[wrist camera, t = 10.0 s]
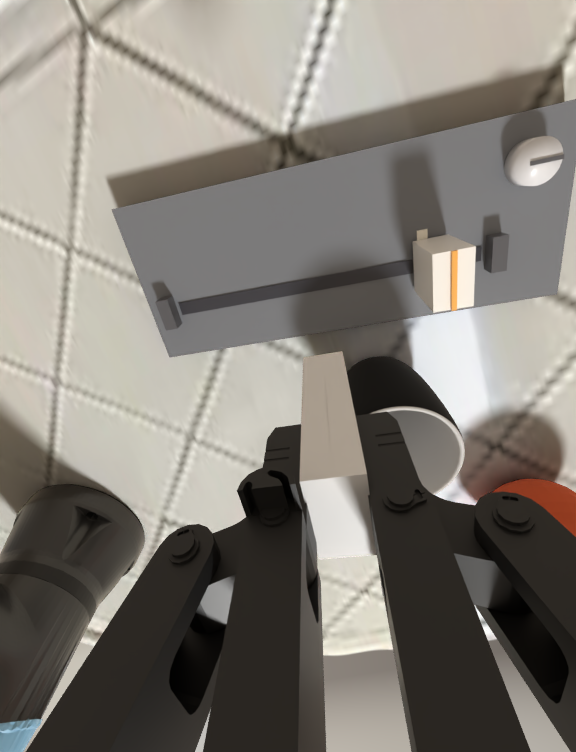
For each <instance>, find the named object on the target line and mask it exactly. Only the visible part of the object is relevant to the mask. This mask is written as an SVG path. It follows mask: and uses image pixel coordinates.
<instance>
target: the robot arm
mask: <svg viewBox="0 0 576 752" xmlns="http://www.w3.org/2000/svg"><path fill="white" fill-rule="evenodd" d="M237 492H238V495H239V497H240V500H241V503H242V506H243V508H244V511H245V514H246V518H244V519H243V520H242V521H240V522H239V523H237V524H235V525H233V526H231V527H228V528H226V529H223V530H220V531H218V532H215V533H213V534H212V532H211V531H210V530H209V529H208V528H207V527H205V526H202V525H200V524H196V525H187V526H185V527H182V528H180V529H177V530H176V531H175V532H173V533H172V534H170V535H169V536H168V537H167V538H166V539H165V540H164V541H163V543H162V544H161V545H160V546H159V548H158V549H157V551H156V552H155V554H154V555H153V557H152V558H151V560H150V562H149V563H148V565H147V566H146V568H145V569H144V571H143V572H142V574H141V575H140V577H139V578H138V580H137V582H136V583H135V585H134V586H133V588H132V589H131V591H130V592H129V594H128V595H127V597H126V598H125V600H124V602H123V603H122V605H121V606H120V608H119V609H118V611H117V612H116V614H115V615H114V617H113V618H112V620H111V622H110V623H109V625H108V626H107V628H106V629H105V631H104V632H103V634H102V635H101V637H100V638H99V640H98V642H97V643H96V645H95V646H94V648H93V649H92V651H91V652H90V654H89V655H88V657H87V658H86V660H85V662H84V663H83V665H82V666H81V668H80V669H79V671H78V672H77V674H76V675H75V677H74V679H73V680H72V682H71V683H70V685H69V686H68V688H67V689H66V691H65V693H64V694H63V695H62V697H61V698H60V700H59V702H58V703H57V705H56V706H55V708H54V709H53V711H52V712H51V714H50V715H49V717H48V718H47V720H46V722H45V723H44V725H43V726H42V728H41V729H40V731H39V732H38V734H37V735H36V737H35V738H34V740H33V742H32V743H31V745H30V746H29V748H28V749H27V751H26V752H195V750H196V747H197V744H198V742H199V739H200V736H201V733H202V731H203V728H204V725H205V722H206V720H207V717H208V714H209V712H210V709H211V712H210V717H209V722H208V728H207V733H206V739H205V744H204V749H203V752H326V733H325V703H324V702H325V701H324V671H323V640H322V609H321V581H320V577H319V573H318V569H317V553H318V557H319V560H322V559H334V558H345V557H357V556H369V555H377V558H378V564H379V571H380V578H381V586H382V593H383V596H384V600H385V606H386V611H387V617H388V623H389V628H390V634H391V639H392V645H393V651H394V656H395V662H396V667H397V673H398V678H399V684H400V690H401V695H402V701H403V706H404V712H405V718H406V723H407V729H408V734H409V739H410V745H411V751H412V752H531V751H530V748H529V746H528V743H527V741H526V738H525V735H524V733H523V731H522V728H521V725H520V722H519V720H518V717H517V715H516V712H515V710H514V707H513V705H512V702H511V699H510V697H509V694H508V692H507V689H506V686H505V684H504V681H503V679H502V676H501V674H500V671H499V668H498V666H497V663H496V661H495V658H494V656H493V653H492V650H491V648H490V645H489V643H488V640H487V638H486V635H485V632H484V630H483V627H482V625H481V622H480V620H479V617H478V614H477V612H476V609H475V607H474V605H476V607H477V609H478V610H479V612H480V613H481V615H482V616H483V618H484V619H485V621H486V622H487V624H488V625H489V627H490V629H491V630H492V632H493V633H494V635H495V636H496V638H497V639H498V641H499V642H500V644H501V645H502V647H503V648H504V650H505V652H506V653H507V655H508V656H509V658H510V659H511V661H512V662H513V664H514V665H515V667H516V668H517V670H518V672H519V673H520V675H521V676H522V678H523V679H524V681H525V682H526V684H527V685H528V687H529V688H530V690H531V691H532V693H533V695H534V696H535V698H536V699H537V700H538V702H539V704H540V705H541V706H542V708H543V710H544V711H545V713H546V714H547V716H548V718H549V719H550V721H551V722H552V724H553V725H554V727H555V728H556V730H557V731H558V733H559V734H560V736H561V737H562V739H563V741H564V742H565V743H566V745H567V747H568V748H569V750H570V751H571V752H576V537H575V536H574V535H573V534H572V533H571V532H570V531H569V530H568V529H566V528H565V527H564V526H563V525H562V524H561V523H560V522H559V521H558V520H557V519H556V518H554V517H553V516H552V515H551V514H550V513H549V512H548V511H547V510H546V509H545V508H544V507H542V506H541V505H539V504H538V503H536V502H535V501H534V500H532V499H530V498H528V497H525V496H522V495H520V494H517V493H511V492H503V491H501V492H494V493H489V494H487V495H485V496H483V497H481V498H480V499H479V501H478V502H477V504H476V505H468V504H462V503H455V502H451V501H447V500H444V499H441V498H439V497H437V496H435V495H433V494H432V493H430V492H429V491H428V490H427V489H426V488H425V487H424V486H423V485H422V483H421V481H420V480H419V477H418V474H417V472H416V469H415V466H414V464H413V461H412V458H411V456H410V453H409V450H408V448H407V445H406V444H405V440H404V437H403V434H402V432H401V429H400V426H399V424H398V421H397V420H396V419H395V418H394V417H393V416H392V415H390V414H389V413H388V412H387V411H386V412H379V413H372V414H365V415H357V416H355V412H354V407H353V402H352V397H351V392H350V387H349V382H348V377H347V372H346V367H345V362H344V357H343V352H342V351H340V352H334V353H327V354H321V355H315V356H309V357H303V385H302V418H301V424H300V425H292V426H285V427H278V428H275V429H274V430H273V432H272V433H271V435H270V436H269V437H268V439H267V445H266V453H265V457H264V464H263V468H261V469H258V470H256V471H254V472H252V473H251V474H249V475H248V476H247V477H246V478H245V479H244V480H243V481H242V482H241V483H240V485H239V488H238V490H237ZM144 542H145V536H144V531H143V528H142V526H141V524H140V522H139V521H138V519H137V518H136V517H135V515H134V514H133V513H132V512H131V511H130V510H129V509H128V508H127V507H125V506H124V505H123V504H121V503H120V502H119V501H117V500H115V499H114V498H112V497H110V496H108V495H106V494H104V493H102V492H99V491H96V490H93V489H90V488H86V487H82V486H76V485H56V486H50V487H47V488H44V489H42V490H40V491H38V492H37V493H35V494H34V495H33V496H32V497H31V498H30V499H29V501H28V502H27V503H26V504H25V505H24V506H23V507H22V508H21V510H20V511H19V513H18V514H17V516H16V519H15V522H14V526H13V529H12V531H11V533H10V535H9V537H8V539H7V541H6V543H5V545H4V547H3V549H2V552H1V554H0V752H23V751H24V749H25V747H26V746H27V744H28V742H29V740H30V739H31V737H32V736H33V734H34V732H35V730H36V729H37V728H38V727H39V725H40V724H41V722H42V719H41V718H42V716H43V714H44V712H45V710H46V708H47V706H48V704H49V702H50V700H51V698H52V696H53V694H54V692H55V690H56V688H57V686H58V684H59V682H60V680H61V678H62V676H63V674H64V672H65V670H66V669H67V666H68V665H69V662H70V660H71V659H72V656H73V655H74V653H75V650H76V648H77V646H78V645H79V643H80V641H81V639H82V637H83V635H84V633H85V631H86V629H87V627H88V625H89V623H90V621H91V619H92V617H93V615H94V613H95V611H96V609H97V607H98V606H99V604H100V603H101V602H102V601H103V600H104V599H105V597H106V596H107V595H108V594H109V593H110V592H111V590H112V589H113V588H114V587H115V585H116V584H117V583H118V581H119V580H120V579H121V577H123V576H124V575H126V574H127V573H128V572H129V571H130V570H131V569H132V568H133V566H134V565H135V563H136V561H137V559H138V557H139V555H140V553H141V551H142V549H143V546H144Z"/></svg>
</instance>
